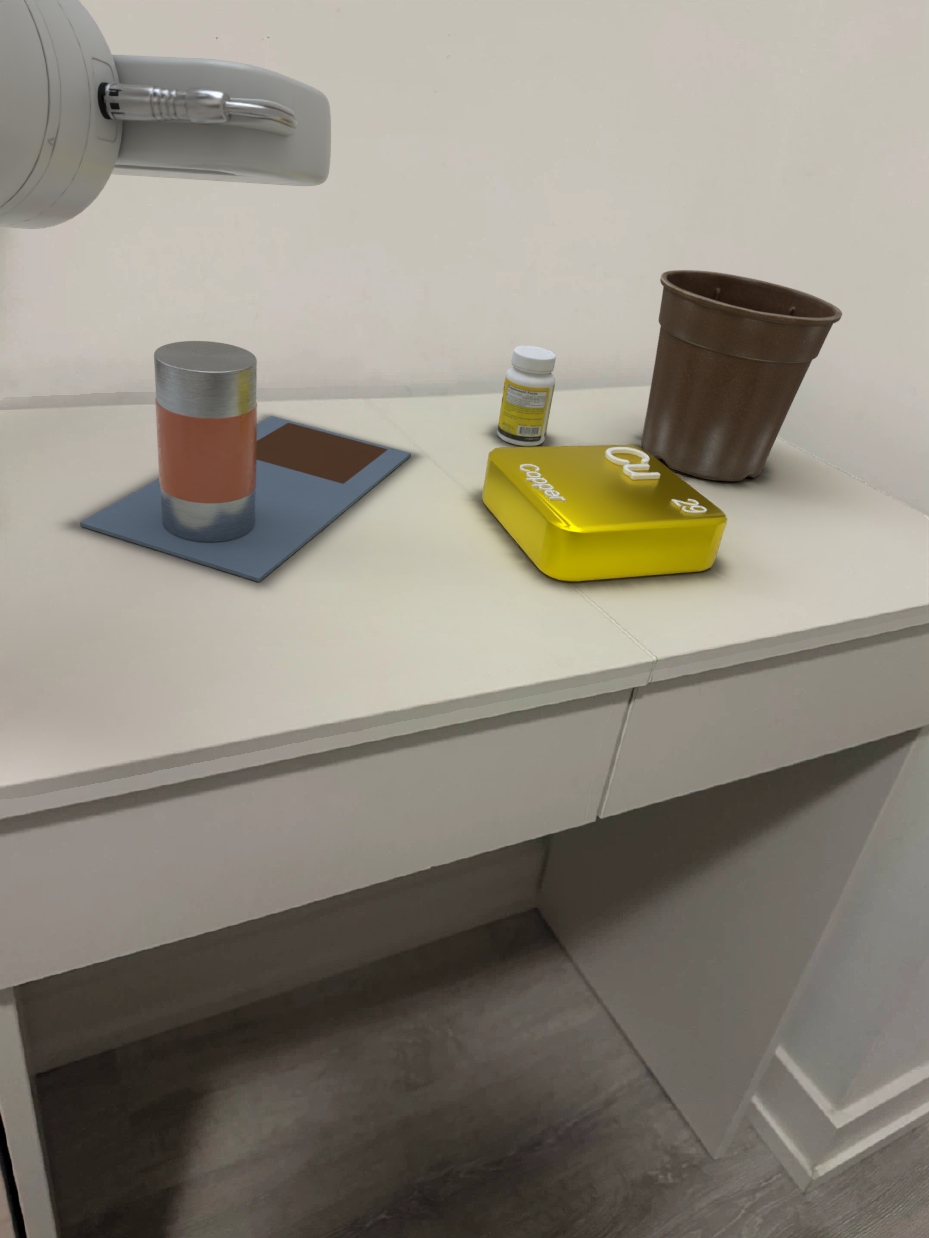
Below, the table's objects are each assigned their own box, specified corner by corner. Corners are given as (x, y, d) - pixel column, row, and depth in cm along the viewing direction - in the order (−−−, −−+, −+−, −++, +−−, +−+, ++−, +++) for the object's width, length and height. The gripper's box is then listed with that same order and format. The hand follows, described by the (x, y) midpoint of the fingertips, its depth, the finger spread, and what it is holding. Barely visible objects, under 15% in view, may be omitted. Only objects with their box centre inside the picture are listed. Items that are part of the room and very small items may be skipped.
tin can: (142, 526, 63) (131, 356, 57) (195, 494, 69) (191, 334, 62) (223, 552, 62) (222, 379, 55) (272, 516, 67) (276, 355, 61)
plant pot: (756, 437, 98) (806, 283, 90) (808, 501, 84) (872, 327, 76) (609, 419, 97) (645, 260, 88) (637, 482, 83) (684, 301, 74)
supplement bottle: (513, 425, 91) (527, 341, 87) (553, 440, 89) (570, 355, 85) (486, 435, 88) (500, 349, 83) (527, 451, 86) (543, 363, 81)
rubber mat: (80, 526, 63) (79, 522, 63) (271, 418, 84) (271, 415, 84) (259, 582, 60) (259, 578, 60) (410, 456, 81) (411, 453, 81)
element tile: (473, 494, 76) (481, 440, 73) (628, 488, 81) (640, 437, 79) (549, 586, 64) (562, 525, 62) (723, 571, 70) (741, 515, 67)
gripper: (261, -3, 30) (376, 82, 43) (-277, -19, 33) (-19, 64, 46) (263, 208, 32) (372, 228, 45) (-240, 174, 35) (-4, 202, 48)
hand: (172, 145), depth 45 cm, fingers open, 8 cm apart
